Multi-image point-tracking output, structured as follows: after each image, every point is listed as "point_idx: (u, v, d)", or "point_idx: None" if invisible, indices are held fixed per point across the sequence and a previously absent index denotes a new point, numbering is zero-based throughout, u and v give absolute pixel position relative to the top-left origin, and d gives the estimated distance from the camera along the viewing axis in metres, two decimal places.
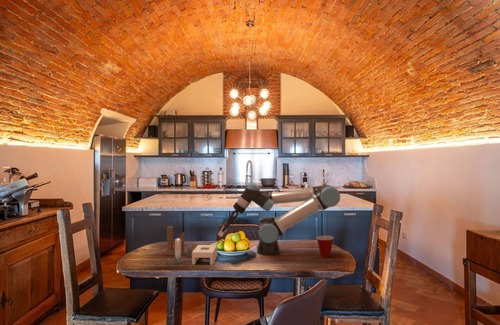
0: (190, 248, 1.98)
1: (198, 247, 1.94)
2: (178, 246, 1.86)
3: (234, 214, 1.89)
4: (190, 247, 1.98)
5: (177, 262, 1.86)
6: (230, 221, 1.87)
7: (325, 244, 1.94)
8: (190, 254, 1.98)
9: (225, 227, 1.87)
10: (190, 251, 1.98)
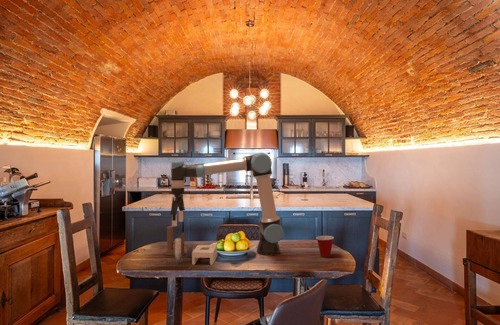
0: (190, 248, 1.98)
1: (198, 247, 1.94)
2: (178, 246, 1.86)
3: (174, 198, 1.81)
4: (190, 247, 1.98)
5: (177, 262, 1.86)
6: (174, 206, 1.79)
7: (325, 244, 1.94)
8: (190, 254, 1.98)
9: (173, 215, 1.79)
10: (190, 251, 1.98)
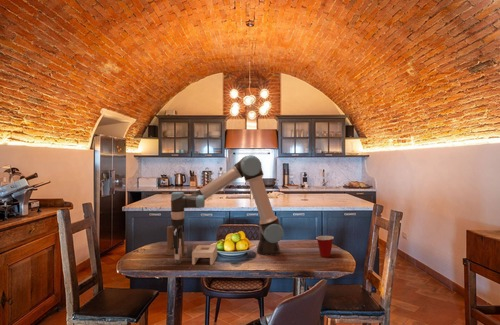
0: (190, 248, 1.98)
1: (198, 247, 1.94)
2: None
3: (174, 233, 1.81)
4: (190, 247, 1.98)
5: (177, 262, 1.86)
6: (175, 241, 1.82)
7: (325, 244, 1.94)
8: (190, 254, 1.98)
9: (176, 249, 1.84)
10: (190, 251, 1.98)
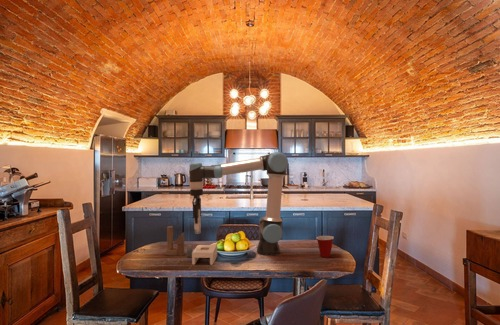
0: (190, 248, 1.98)
1: (198, 247, 1.94)
2: None
3: (194, 203, 1.84)
4: (190, 247, 1.98)
5: (197, 232, 1.89)
6: (195, 211, 1.85)
7: (325, 244, 1.94)
8: (190, 254, 1.98)
9: (195, 218, 1.87)
10: (190, 251, 1.98)
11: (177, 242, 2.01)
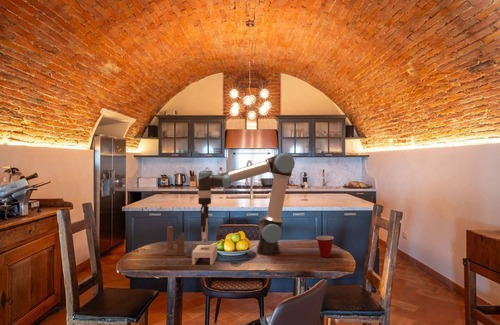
0: (190, 248, 1.98)
1: (198, 247, 1.94)
2: None
3: (202, 211, 1.85)
4: (190, 247, 1.98)
5: (204, 241, 1.90)
6: (203, 219, 1.86)
7: (325, 244, 1.94)
8: (190, 254, 1.98)
9: (203, 226, 1.88)
10: (190, 251, 1.98)
11: (177, 242, 2.01)
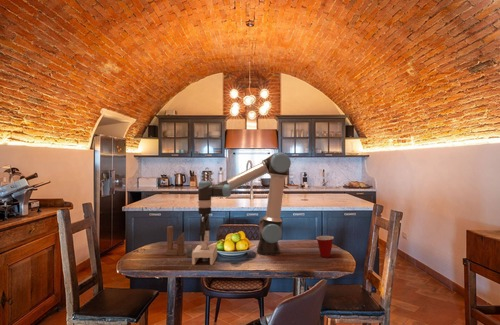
0: (190, 248, 1.98)
1: (198, 247, 1.94)
2: None
3: (202, 219, 1.85)
4: (190, 247, 1.98)
5: (204, 260, 1.90)
6: (202, 227, 1.84)
7: (325, 244, 1.94)
8: (190, 254, 1.98)
9: (202, 235, 1.85)
10: (190, 251, 1.98)
11: (177, 242, 2.01)
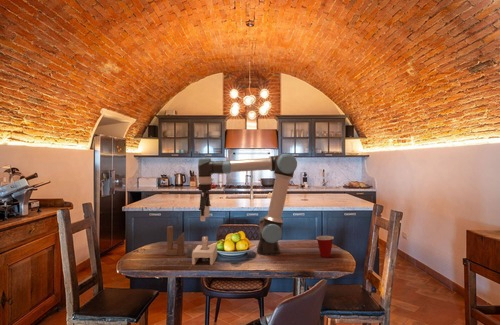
0: (190, 248, 1.98)
1: (198, 247, 1.94)
2: (205, 244, 1.90)
3: (202, 194, 1.85)
4: (190, 247, 1.98)
5: (204, 260, 1.90)
6: (202, 202, 1.83)
7: (325, 244, 1.94)
8: (190, 254, 1.98)
9: (202, 210, 1.83)
10: (190, 251, 1.98)
11: (177, 242, 2.01)
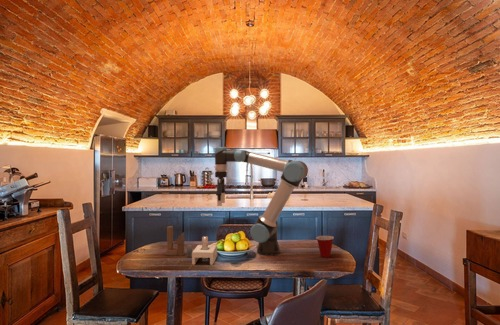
0: (189, 248, 1.98)
1: (198, 247, 1.94)
2: (205, 244, 1.90)
3: (219, 180, 1.97)
4: (189, 247, 1.98)
5: (204, 260, 1.90)
6: (219, 188, 1.95)
7: (325, 244, 1.94)
8: (190, 254, 1.98)
9: (219, 195, 1.96)
10: (190, 251, 1.98)
11: (177, 242, 2.01)
